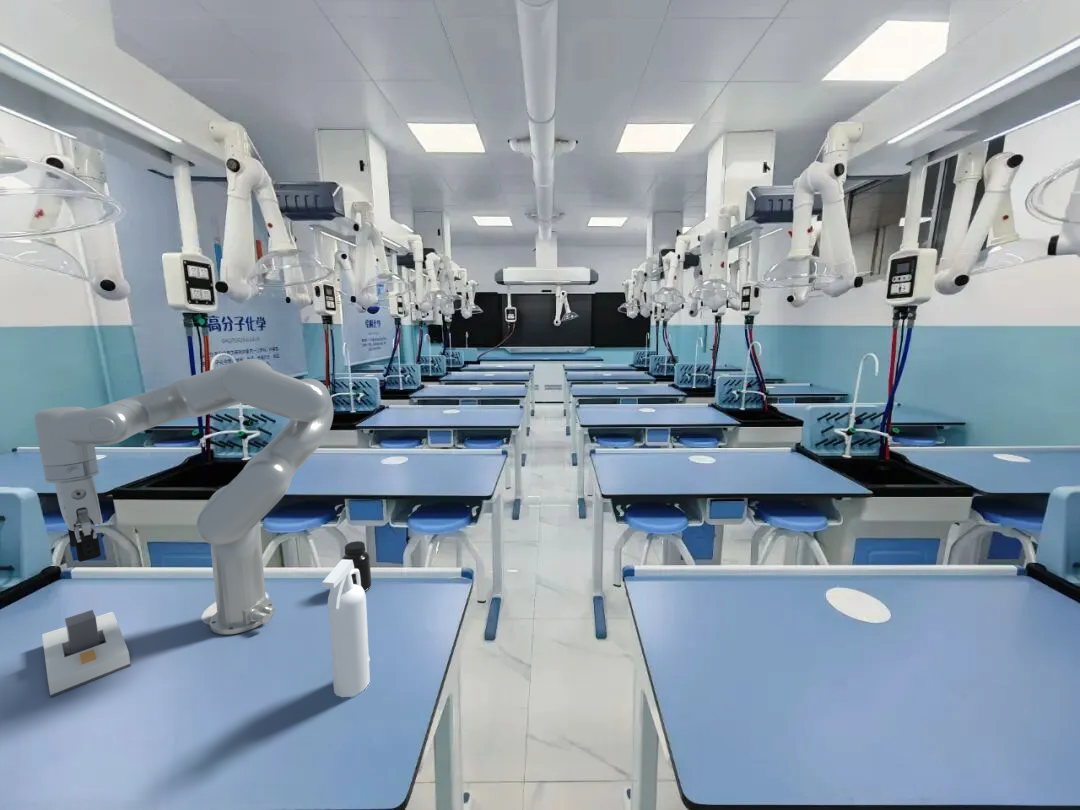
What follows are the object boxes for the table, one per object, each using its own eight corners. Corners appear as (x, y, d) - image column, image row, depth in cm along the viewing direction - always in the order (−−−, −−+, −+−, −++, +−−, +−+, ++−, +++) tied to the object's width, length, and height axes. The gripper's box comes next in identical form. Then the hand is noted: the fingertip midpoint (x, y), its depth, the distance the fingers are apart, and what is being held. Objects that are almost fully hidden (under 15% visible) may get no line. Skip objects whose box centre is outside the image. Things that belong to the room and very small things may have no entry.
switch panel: (130, 665, 93) (128, 649, 92) (50, 697, 84) (47, 679, 84) (114, 623, 106) (112, 608, 105) (44, 647, 98) (41, 631, 97)
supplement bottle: (348, 581, 124) (345, 539, 122) (374, 581, 125) (372, 538, 123) (339, 596, 118) (336, 551, 116) (367, 595, 118) (365, 550, 116)
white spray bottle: (386, 659, 95) (376, 545, 90) (356, 709, 83) (343, 580, 78) (355, 657, 96) (343, 544, 91) (321, 705, 84) (306, 578, 79)
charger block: (100, 653, 95) (95, 617, 94) (73, 664, 92) (67, 626, 91) (97, 644, 98) (92, 609, 97) (70, 654, 95) (64, 618, 93)
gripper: (105, 473, 89) (119, 557, 92) (90, 458, 100) (102, 533, 103) (49, 483, 84) (65, 572, 87) (39, 466, 95) (54, 545, 97)
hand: (85, 551), depth 95 cm, fingers open, 9 cm apart
